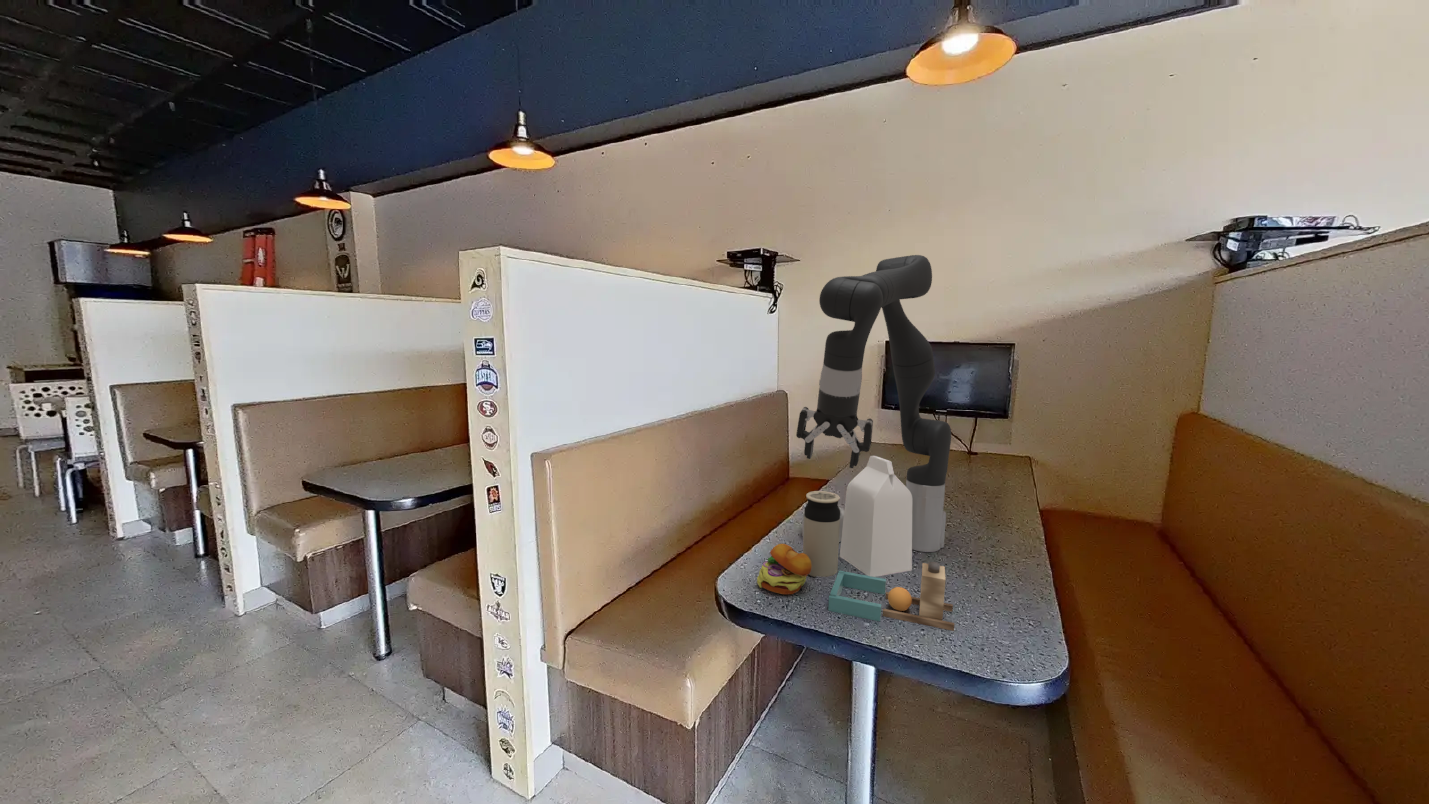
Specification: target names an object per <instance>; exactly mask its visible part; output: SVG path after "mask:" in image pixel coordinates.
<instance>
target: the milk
mask: <svg viewBox="0 0 1429 804" xmlns="http://www.w3.org/2000/svg"><path fill="white" fill-rule="evenodd" d="M892 463H893V462H892V461H891V460H888V459H885V458H883V457H880V456H877V455H870V456H869V458H868V461H867V464H866V466H865V467H863V469H862V470H861V471H860V472H859V473H858V474H856V475H855V476H854V478H852V479H851V481H850V482H849V483H848V485H847V486H846V493H845V501H844V519H843V528H842V538H841V543H840V547H839V558H841V559H843V560H845V561H846V562H848V564H849V565H851V566H853V567H854V568H856V569H857V570H859V571H860V572H861V573H863V575H866V576H872V577H877V578H878V577H881V576H882V577H883V576H887V575H888V576H889V575H893V574H899V573H905V572H911V571H913V570H912V569H913V567H912V566H913V565H912V564H913V549H912V495H911V492H910V491H909V490H908V488H907V487H906V484H904V483H903V482H902V481H901V480H900V479H899V478H898V477H897V475H896V474H895V473H894V468H893V464H892Z"/></svg>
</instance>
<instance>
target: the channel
mask: <svg viewBox="0 0 1429 804" xmlns="http://www.w3.org/2000/svg"><path fill="white" fill-rule="evenodd" d="M889 592H890V591H885V600H888V594H889ZM911 598H912V603H911V605H917V606H920V597H915V596H911ZM953 608H954V604H953V603H946V602H944V606H943V611H946V612H949V613H950V612H951V613H953V610H954V609H953ZM882 617H886V618H891V619H894V620H899V621H905V622H909V623H913V624H919V625H924V626H928V627H934V628H937V629H938V628H939V629H942V630H947V631H952V632H955V622H952V621H946V620H937V619H932V618H928V617H923V616H919V615H916V614H913V613H906V612H904V611H903V612H902V611H898V610H894V609H893V610H892V609H889V608H888V609H887V608H883V609H882Z"/></svg>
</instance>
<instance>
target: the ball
mask: <svg viewBox="0 0 1429 804" xmlns="http://www.w3.org/2000/svg"><path fill="white" fill-rule="evenodd" d="M888 592H889V594H888V599H887V601H888V603H889V605H890V607H891V608H892V609H893V610H894V611H898V612H902V611H903V612H904V611H907V610H908V609H909V608H910V607H911V606H912V604H911V603H912V598H911V597H912V595H911V593H910V592H909V591H908V589H906V588H904V587H902V586H900V587H899V586H895V587H893V588H892V589H891V590H889V591H888Z"/></svg>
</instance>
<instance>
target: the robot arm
mask: <svg viewBox="0 0 1429 804" xmlns="http://www.w3.org/2000/svg"><path fill="white" fill-rule="evenodd" d="M932 283H933V270H932V265H931V262H930V260H929V259H928V257H926V256H924V255H921V254H915V255H914V254H911V255H906V256H900V257H899V256H898V257H897V256H896V257H891V258H886V259H882V260H880V261H879V262H878V263H877V265H876V269H875V271H872V272H867V273H865V274H862V275H857V276H855V275H854V276H853V275H849V276H847V275H846V276H837V277H833V278H832V279H830V280H829V281H828V282H826V283H825V284H824V286H823V288H822V289H821V291H820V293H819V306H820V309H821V311H822V313H823V314H824V315H826V316H827V317H830V318H831V319H837V320H841V321H846V322H853V324H854V325H853V327H852V329H850V330H848V329H847V330H836V331H832V332H830V333H828V335H827V336H826V340H825V345H824V346H825V347H824V354H823V355H824V356H823V363H822V368H821V372H820V379H819V382H818V384H819V385H818V387H819V388H818V399H817V406H816V410H815V411H814V410H812V409H809V407H808V406H803V408H802V409H801V410H800V412H799V416H798V422H797V428H796V435H795V436H796V438H798V439H801V440H803V441H804V451H803V453H804V456H805V457H806V459H808V460H810V459H812V457H813V453H814V443H815V438H817V437H818V436H820V435H821V434H824V436H826V437H834V438H837V439H842V438H843V439H844V441H845V442H846V443H847V444H848V445H849V446H850V449H851V453H850V462H849V469H854V467H857V466H858V464H859V460H860V454H861V452H865V453H868V452H869V451H870V448H871V446H872V438H873V427H874V420H873V419H872V418H867V419H859V417H858V409H859V401H860V396H861V395H860V394H861V389H862V383H863V382H862V381H863V364H864V356H865V350H866V345H867V342H868V339H869V336H870V334H871V331H872V328H873V326H874V324H875V322H876V321H877V320H876V319H877V317H878V316H879V313H880V312H881V309H882V313H883V317H884V321H885V326H886V330H887V335H888V342H889V349H890V355H891V356H890V357H891V362H892V363H891V364H892V369H893V375H894V380H895V384H896V390H897V396H898V403H899V415H900V428H901V429H900V430H901V440H902V444H903V447H904V449H905V450H906V451H907V452H909V453H913V454H917V455H923V456H928V457H929V459H928V462H927V463H926V464H922V465H921V464H920V465H915V466H911V467H909V468H908V469H907V471H906V481H905V482H906V484H905V486H906V487H907V488H908V490H909V491H910V492H911V495H912V551H913V550H914V551H917V552H924V553H934V552H938V551H940V550H941V549H943V548H945V547H944V546H945V535H946V532H945V531H946V523H947V522H946V521H947V512H946V511H945V510H944V505H945V504H944V503H945V493H946V492H945V490H946V479H947V478H946V477H947V473H948V466H949V460H950V459H949V458H950V451H951V450H950V449H951V444H952V430H951V425H950V424H949V423H948V422H947V421H943V420H937V419H930V418H922V417H921V416H920V403H921V401H922V399H923V397H924V395H925V393H926V392H927V390H929V388H930V386H931V384H932V382H933V380H934V378H935V374H936V367H935V360H934V351H933V348H932V345H931V343H930V342H929V340H928V339H927V338H926V337H925V336H924V335H923V333H922V332H921V331H920V330H919V329H918V328H917V327H916V326H915V325H914V324H913V323H912V321H910V319H909V317H908V316H907V315H906V313H905V310H904V309H903V306H902V304H901V300H908V299H909V300H910V299H917V298H921V297H923V296H925V295H927V293H928V292H929V291H930V289H931V287H932ZM811 418H813V420H814V421H815V423H816V425H815V427H813V428H812V429H811V430H810V431H807V430H806V428H807V422H808V421H810V420H811ZM857 426H858V427H859V428H860V431H861V432H862V433H863V442H861V441H860V440H859V438H858V437H857V436H858V435H857V434H856V432H855V429H856V428H857Z"/></svg>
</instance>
